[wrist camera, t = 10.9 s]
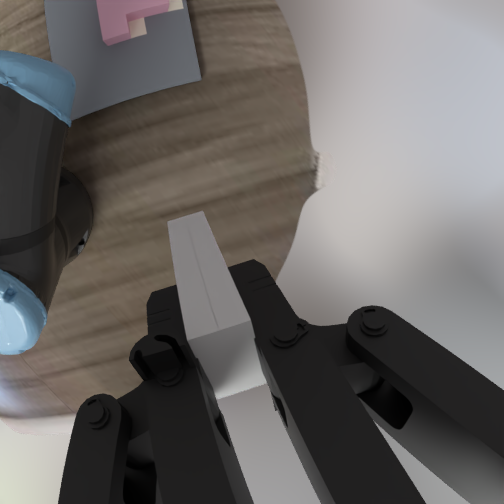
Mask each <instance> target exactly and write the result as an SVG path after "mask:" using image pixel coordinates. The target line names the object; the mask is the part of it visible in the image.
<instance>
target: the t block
mask: <svg viewBox="0 0 504 504" xmlns="http://www.w3.org/2000/svg"><path fill="white" fill-rule="evenodd" d="M96 2H97V9H98V15H99V21H100V27H101V33H102V38H103V41H104V42H105V43H106V44H107V45H108V46H110V45H113V44H116V43H119V42H122V41H125V40H128V39H131V34H130V29H129V23H128V22H130V21H133V20H136V19H140V18H144V17H148V16H152V15H156V14H160V13H164V12H168V8H169V0H96Z"/></svg>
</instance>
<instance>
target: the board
mask: <svg viewBox="0 0 504 504" xmlns="http://www.w3.org/2000/svg"><path fill="white" fill-rule="evenodd" d="M44 6H45V16H46V24H47V32H48V39H49V45H50V52H51V57H52V62H53V63H55V64H58V65H60V66H62V67H64V68H66V69H67V70H68V71H69V72H70V73H71V74H72V75H73V77H74V79H75V82H76V91H75V96H74V100H73V105H72V110H71V115H70V119H71V121H73V120H75V119H77V118H80V117H82V116H85V115H87V114H90V113H92V112H95V111H98V110H100V109H103V108H106V107H109V106H111V105H114V104H117V103H120V102H123V101H126V100H129V99H132V98H135V97H139V96H142V95H145V94H149V93H152V92H156V91H159V90H163V89H167V88H170V87H174V86H178V85H182V84H187V83H191V82H195V81H200V80H202V79H201V74H200V69H199V64H198V59H197V54H196V49H195V44H194V39H193V34H192V29H191V24H190V18H189V13H188V8H187V3H186V0H169V8H168V12H164V13H160V14H156V15H152V16H148V17H144V18H140V19H136V20H133V21H130V22H128V23H129V29H130V34H131V39H128V40H125V41H122V42H119V43H116V44H113V45H110V46H108V45H107V44H106V43H105V42H104V41H103V38H102V33H101V27H100V21H99V15H98V9H97V2H96V0H44Z"/></svg>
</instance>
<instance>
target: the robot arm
mask: <svg viewBox="0 0 504 504" xmlns="http://www.w3.org/2000/svg"><path fill="white" fill-rule="evenodd" d="M75 91H76V82H75V79H74V77H73V75H72V74H71V73H70V72H69V71H68V70H67V69H66V68H64V67H62V66H60V65H58V64H55V63H53V62H50V61H47V60H44V59H41V58H37V57H34V56H30V55H26V54H21V53H17V52H11V51H4V50H0V354H5V355H14V354H20V353H22V352H24V351H25V350H28V349H30V348H32V347H33V346H34V345H35V343H36V342H37V340H38V338H39V336H40V333H41V331H42V329H43V327H44V326H45V324H46V322H47V313H48V310H49V307H50V304H51V301H52V298H53V295H54V292H55V289H56V286H57V284H58V281H59V278H60V275H61V273H62V270H63V267H65V266H66V265H67V264H69V263H70V262H71V261H73V260H74V259H75V258H76V257H77V256H78V255H79V254H80V253H81V251H82V250H83V248H84V247H85V245H86V243H87V240H88V238H89V235H90V232H91V229H92V223H93V211H92V205H91V201H90V198H89V196H88V193H87V191H86V190H85V188H84V186H83V185H82V183H81V182H80V181H79V180H78V179H77V178H76V177H75V176H74V175H73V174H72V173H70V172H69V171H68V170H66V169H64V168H62V167H61V166H62V159H63V153H64V147H65V142H66V137H67V132H68V127H71V119H70V115H71V110H72V105H73V100H74V96H75ZM167 223H168V230H169V238H170V245H171V252H172V258H173V265H174V271H175V277H176V283H177V285H174V286H170V287H167V288H164V289H161V290H158V291H154V292H152V293H151V295H150V297H149V300H148V302H147V324H148V335H146V336H144V337H143V338H141V339H140V340H139V341H138V342H137V343H136V344H135V345H134V347H133V348H132V350H131V352H130V357H129V361H130V363H131V364H132V366H133V367H134V368H135V370H136V371H137V372H138V374H139V375H140V376H141V378H142V379H143V380H144V381H143V382H142V383H141V384H140V385H139V386H138V387H137V388H135V389H134V390H132V391H131V392H129V393H127V394H125V395H124V396H122V397H120V398H118V399H117V400H116V399H115V398H114V397H113V396H111V395H107V394H97V395H94V396H92V397H90V398H88V399H86V401H85V402H84V403H83V404H82V405H81V406H80V408H79V410H78V412H77V415H76V418H75V422H74V426H73V430H72V434H71V439H70V443H69V447H68V452H67V457H66V462H65V466H64V472H63V477H62V482H61V488H60V494H59V501H58V504H254V503H253V500H252V497H251V495H250V492H249V489H248V487H247V484H246V481H245V478H244V476H243V473H242V471H241V467H240V464H239V462H238V459H237V456H236V453H235V450H234V447H233V444H232V441H231V438H230V435H229V432H228V429H227V426H226V423H225V420H224V416H223V414H222V413H221V411H220V409H219V407H218V404H217V400H216V397H217V399H220V398H223V397H226V396H230V395H233V394H236V393H239V392H242V391H245V390H248V389H251V388H254V387H257V386H260V385H262V384H265V383H266V382H267V383H268V386H269V388H270V391H271V395H272V399H273V403H274V407H275V411H276V410H278V413H279V415H280V417H281V419H282V422H283V424H284V426H285V428H286V430H287V433H288V435H289V437H290V439H291V441H292V443H293V446H294V448H295V450H296V452H297V454H298V457H299V459H300V461H301V463H302V465H303V467H304V469H305V471H306V474H307V476H308V478H309V480H310V482H311V484H312V486H313V488H314V490H315V492H316V494H317V496H318V498H319V500H320V502H321V504H426V503H425V501H424V500H423V498H422V497H421V495H420V493H419V492H418V490H417V488H416V487H415V485H414V484H413V482H412V481H411V479H410V477H409V476H408V474H407V473H406V471H405V469H404V468H403V466H402V465H401V463H400V462H399V460H398V458H397V457H396V455H395V454H394V452H393V451H392V449H391V448H390V446H389V444H388V443H387V441H386V440H385V438H384V437H383V435H382V433H381V432H380V430H379V429H378V427H377V426H376V424H375V423H374V421H375V422H376V423H377V424H378V425H379V426H380V427H382V428H383V429H384V430H385V431H386V432H387V433H388V434H389V435H390V436H391V437H393V438H394V439H395V440H396V441H397V442H398V443H399V444H400V445H402V446H403V447H404V448H405V449H406V450H407V451H408V452H409V453H411V454H412V455H413V456H414V457H415V458H416V459H418V460H419V461H420V462H421V463H422V464H423V465H424V466H426V467H427V468H428V469H429V470H430V471H432V472H433V473H434V474H435V475H436V476H437V477H439V478H440V479H441V480H442V481H443V482H444V483H446V484H447V485H448V486H449V487H451V488H452V489H453V490H454V491H456V492H457V493H458V494H459V495H460V496H462V497H463V498H464V499H465V500H466V501H468V502H469V503H470V504H504V390H502V389H501V388H500V387H498V386H497V385H496V384H494V383H493V382H491V381H490V380H489V379H488V378H486V377H485V376H483V375H482V374H480V373H479V372H478V371H476V370H475V369H474V368H472V367H471V366H469V365H468V364H467V363H465V362H464V361H462V360H461V359H460V358H458V357H457V356H456V355H454V354H452V353H451V352H450V351H448V350H447V349H446V348H444V347H443V346H441V345H440V344H438V343H437V342H435V341H434V340H433V339H431V338H430V337H428V336H427V335H426V334H424V333H422V332H421V331H420V330H418V329H417V328H415V327H414V326H412V325H411V324H410V323H408V322H406V321H405V320H404V319H402V318H401V317H399V316H398V315H396V314H395V313H393V312H392V311H390V310H388V309H386V308H384V307H380V306H365V307H361V308H360V309H357V310H355V311H354V312H353V313H352V314H351V316H349V318H348V322H347V323H346V324H339V325H331V326H316V325H311V324H309V323H308V322H307V321H306V320H303V319H300V318H299V317H298V316H297V315H296V314H295V312H294V311H293V309H292V308H291V306H290V304H289V303H288V301H287V300H286V298H285V297H284V295H283V293H282V292H281V290H280V289H279V287H278V286H277V285H276V282H275V281H274V279H273V278H272V277H271V275H270V273H269V271H268V270H267V268H266V267H265V265H263V264H261V263H259V262H258V261H256V260H254V259H253V260H249V261H246V262H243V263H240V264H237V265H234V266H231V267H227V266H226V263H225V261H224V259H223V256H222V254H221V252H220V250H219V247H218V245H217V243H216V240H215V238H214V236H213V233H212V231H211V229H210V226H209V224H208V222H207V219H206V217H205V215H204V212H203V211H201V212H197V213H194V214H191V215H187V216H184V217H181V218H178V219H174V220H171V221H168V222H167ZM215 396H216V397H215ZM373 420H374V421H373Z"/></svg>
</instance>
